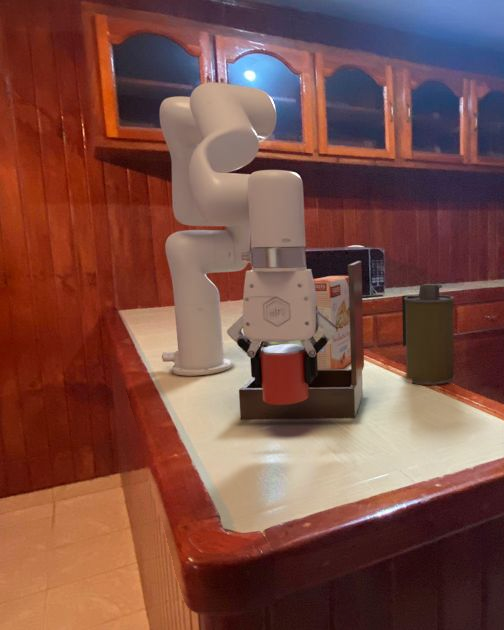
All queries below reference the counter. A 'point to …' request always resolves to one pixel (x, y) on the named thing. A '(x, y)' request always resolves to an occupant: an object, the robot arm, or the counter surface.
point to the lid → (356, 320)
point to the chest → (323, 402)
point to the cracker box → (334, 321)
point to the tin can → (284, 374)
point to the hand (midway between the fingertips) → (285, 380)
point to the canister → (429, 336)
